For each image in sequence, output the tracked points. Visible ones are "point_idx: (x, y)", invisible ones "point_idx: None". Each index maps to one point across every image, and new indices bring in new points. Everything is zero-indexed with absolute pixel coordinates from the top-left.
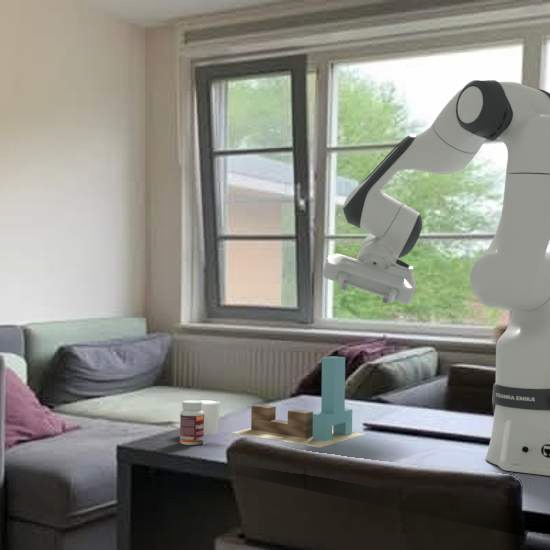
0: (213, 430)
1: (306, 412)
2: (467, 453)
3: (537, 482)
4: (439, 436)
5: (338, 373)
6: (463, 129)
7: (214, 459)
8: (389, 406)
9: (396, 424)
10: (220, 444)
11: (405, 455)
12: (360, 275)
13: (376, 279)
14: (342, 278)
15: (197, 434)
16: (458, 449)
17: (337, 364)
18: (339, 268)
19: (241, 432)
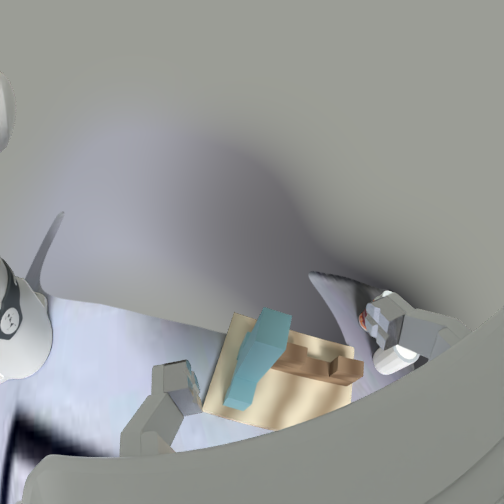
0: (376, 354)
1: None
2: (67, 372)
3: (33, 270)
4: None
5: (253, 333)
6: None
7: (313, 276)
8: None
9: None
10: (345, 328)
11: (137, 345)
12: (393, 383)
13: (281, 431)
14: (418, 311)
15: (363, 311)
16: (76, 393)
17: (258, 322)
18: (486, 322)
19: (346, 352)
